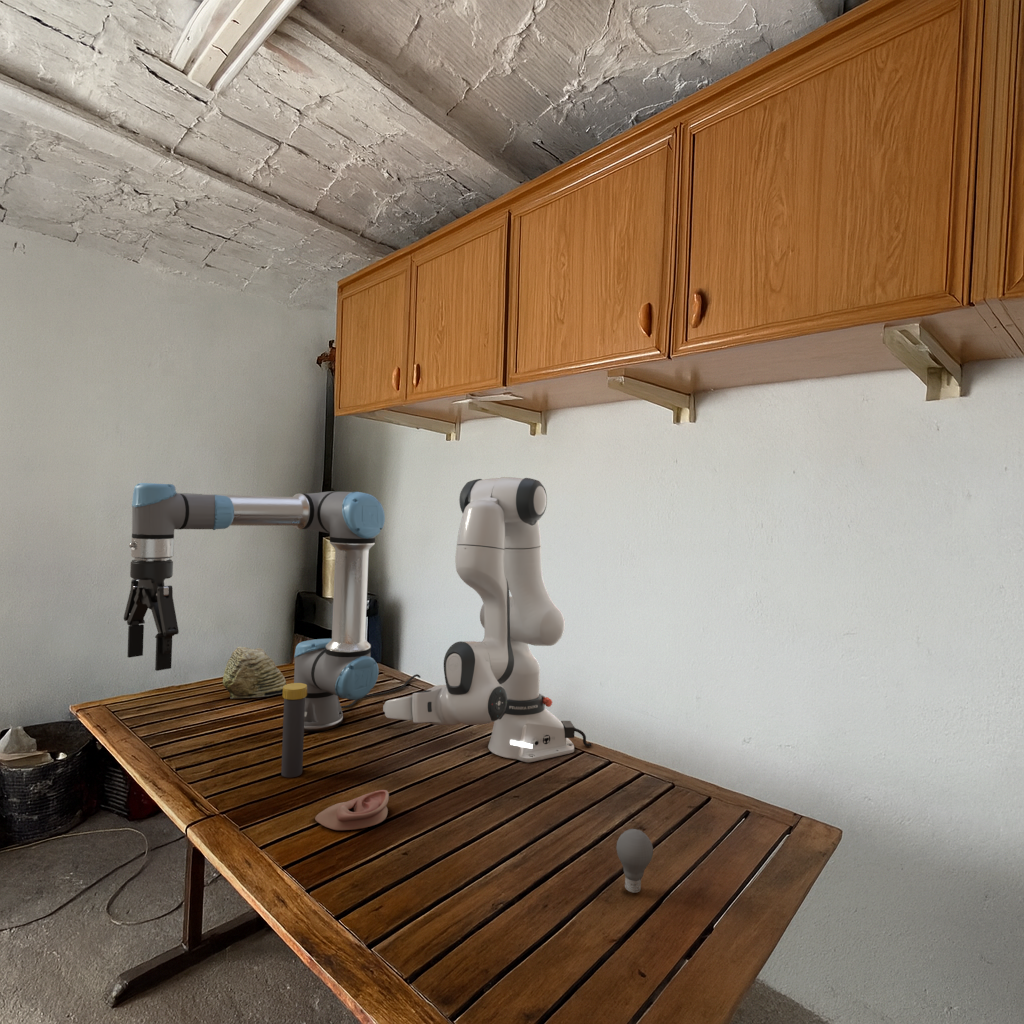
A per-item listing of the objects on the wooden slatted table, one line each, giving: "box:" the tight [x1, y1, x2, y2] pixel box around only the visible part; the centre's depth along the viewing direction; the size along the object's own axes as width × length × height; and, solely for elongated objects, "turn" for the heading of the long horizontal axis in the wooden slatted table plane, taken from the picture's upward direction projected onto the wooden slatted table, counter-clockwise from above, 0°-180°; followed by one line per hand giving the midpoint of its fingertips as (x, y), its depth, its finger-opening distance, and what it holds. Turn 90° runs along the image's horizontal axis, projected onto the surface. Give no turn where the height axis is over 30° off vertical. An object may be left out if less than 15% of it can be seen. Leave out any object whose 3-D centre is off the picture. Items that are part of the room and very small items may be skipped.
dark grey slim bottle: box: [280, 698, 305, 779], centre depth 144 cm, size 4×4×20 cm
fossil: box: [222, 646, 287, 699], centre depth 198 cm, size 9×18×15 cm, turn 132°
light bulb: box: [615, 828, 654, 894], centre depth 106 cm, size 6×6×10 cm
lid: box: [282, 682, 307, 700], centre depth 144 cm, size 5×5×2 cm
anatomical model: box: [314, 789, 390, 831], centre depth 126 cm, size 13×4×12 cm
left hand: (148, 662), depth 129 cm, fingers open, 13 cm apart
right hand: (400, 706), depth 152 cm, fingers open, 8 cm apart
